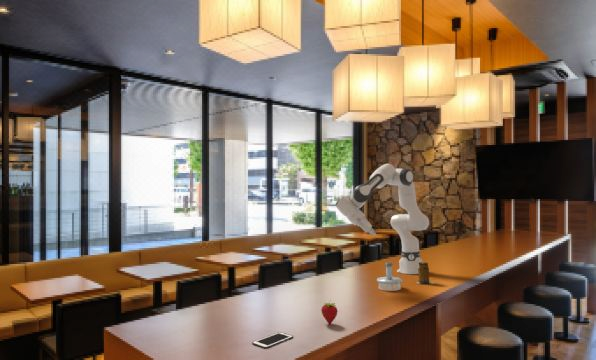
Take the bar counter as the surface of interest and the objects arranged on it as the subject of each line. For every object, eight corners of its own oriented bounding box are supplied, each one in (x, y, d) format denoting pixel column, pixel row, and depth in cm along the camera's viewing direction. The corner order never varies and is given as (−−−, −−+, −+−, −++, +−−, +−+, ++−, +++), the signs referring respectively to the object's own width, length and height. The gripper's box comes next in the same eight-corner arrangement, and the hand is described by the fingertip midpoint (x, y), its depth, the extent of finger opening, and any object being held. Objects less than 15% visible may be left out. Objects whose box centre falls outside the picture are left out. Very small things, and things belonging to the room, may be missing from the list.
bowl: (378, 285, 231) (378, 278, 231) (400, 286, 228) (400, 279, 228) (378, 290, 219) (378, 283, 219) (400, 291, 217) (400, 283, 217)
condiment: (422, 281, 239) (421, 261, 240) (435, 283, 233) (434, 262, 233) (415, 283, 235) (414, 262, 235) (428, 285, 228) (427, 264, 229)
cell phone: (251, 345, 144) (251, 342, 144) (279, 334, 155) (279, 331, 155) (265, 350, 139) (265, 347, 139) (294, 338, 150) (294, 335, 150)
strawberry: (328, 320, 170) (327, 296, 170) (341, 324, 164) (340, 299, 164) (318, 323, 166) (317, 299, 166) (331, 327, 160) (330, 302, 160)
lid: (376, 278, 232) (376, 261, 233) (401, 278, 229) (400, 261, 230) (376, 283, 219) (375, 265, 219) (402, 284, 216) (402, 265, 216)
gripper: (360, 215, 223) (378, 232, 221) (362, 213, 243) (379, 229, 241) (352, 223, 224) (371, 240, 222) (355, 221, 244) (372, 237, 242)
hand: (375, 235), depth 231 cm, fingers open, 8 cm apart
